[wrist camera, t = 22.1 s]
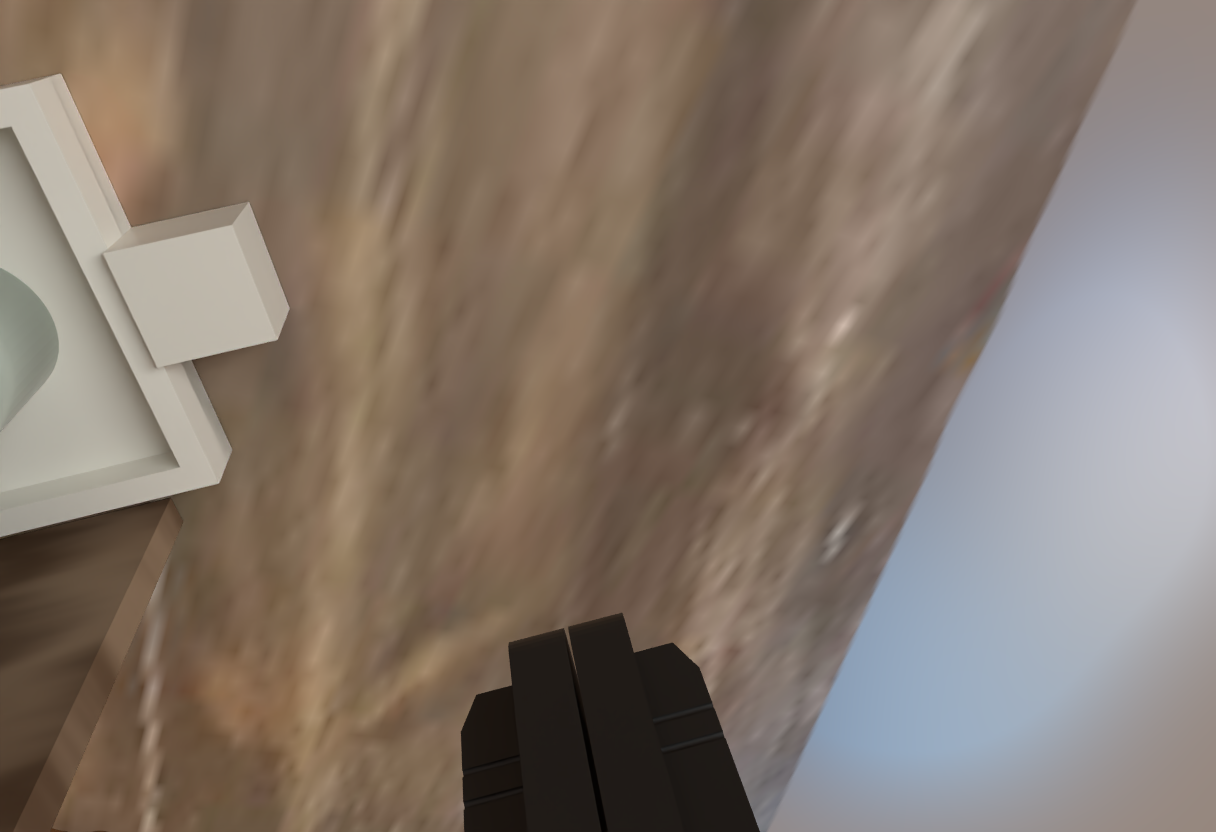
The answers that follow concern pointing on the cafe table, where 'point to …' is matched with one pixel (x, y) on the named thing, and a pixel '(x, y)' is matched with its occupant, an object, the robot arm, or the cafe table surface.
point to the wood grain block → (68, 644)
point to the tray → (116, 323)
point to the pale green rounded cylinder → (23, 345)
